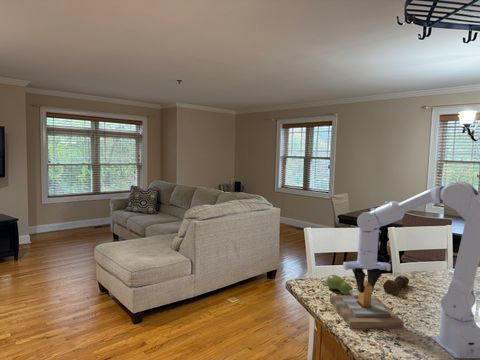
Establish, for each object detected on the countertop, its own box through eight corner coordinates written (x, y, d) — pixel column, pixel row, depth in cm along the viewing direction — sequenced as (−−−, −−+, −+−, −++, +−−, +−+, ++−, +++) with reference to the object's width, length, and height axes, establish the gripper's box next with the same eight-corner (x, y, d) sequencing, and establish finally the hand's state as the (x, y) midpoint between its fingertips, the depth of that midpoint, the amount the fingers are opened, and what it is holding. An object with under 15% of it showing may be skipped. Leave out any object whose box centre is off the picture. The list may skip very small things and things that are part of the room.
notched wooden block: (370, 311, 102) (372, 286, 102) (363, 311, 102) (365, 286, 101) (364, 304, 107) (366, 280, 106) (357, 304, 107) (358, 280, 106)
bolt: (406, 289, 130) (391, 298, 120) (395, 280, 134) (380, 288, 123) (415, 279, 128) (400, 287, 118) (404, 270, 131) (388, 277, 121)
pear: (333, 271, 127) (356, 283, 120) (330, 283, 128) (353, 296, 121) (325, 274, 123) (348, 286, 116) (322, 286, 124) (345, 300, 117)
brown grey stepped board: (403, 328, 96) (404, 315, 96) (350, 328, 95) (351, 314, 95) (374, 301, 114) (375, 290, 114) (329, 300, 113) (330, 289, 113)
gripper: (383, 246, 107) (380, 286, 108) (340, 245, 107) (338, 286, 108) (395, 253, 100) (392, 295, 101) (349, 252, 100) (346, 295, 101)
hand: (364, 291), depth 104 cm, fingers closed on notched wooden block, 2 cm apart
